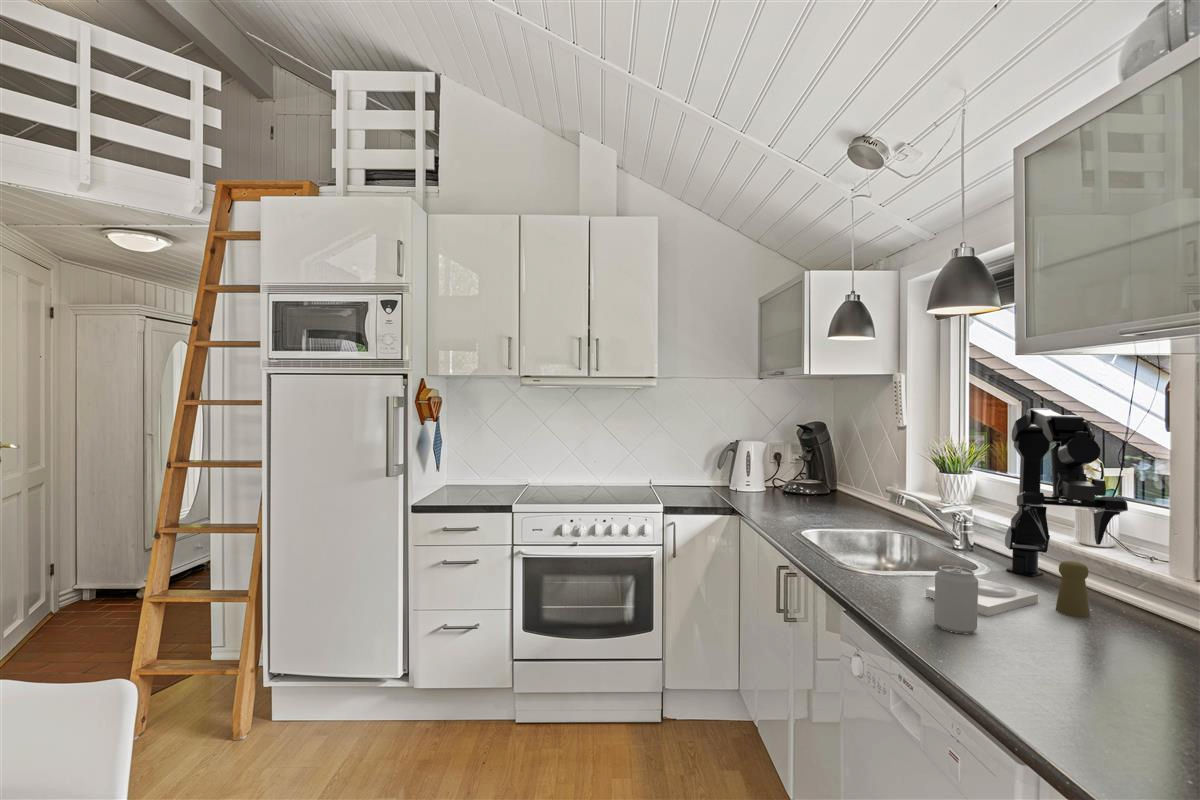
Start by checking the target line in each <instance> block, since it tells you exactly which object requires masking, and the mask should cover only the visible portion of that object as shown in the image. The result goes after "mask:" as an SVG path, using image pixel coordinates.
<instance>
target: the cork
mask: <svg viewBox="0 0 1200 800" xmlns="http://www.w3.org/2000/svg"><path fill="white" fill-rule="evenodd" d="M1058 573H1059V574H1060V576H1061V578H1060V579H1061V580H1060V583H1059V587H1058V593H1057V594H1058V595H1057V599H1056V605H1055V611H1056V612H1057V611H1058V612H1057V613H1059V612H1060V614H1061V613H1062V614H1061V615H1064V614H1065V616H1068V615H1069V617H1073V618H1074V617H1075V618H1082V619H1083V618H1090V617H1091V614H1090V613H1091V612H1090V606H1089V599H1088V591H1087V584H1086V583H1087V582H1086V579H1087V578H1088V576H1089V567H1088V566H1087V565H1086V564H1084V563H1082V562H1078V561H1074V560H1064V561H1061V562H1060V564H1059V565H1058Z"/></svg>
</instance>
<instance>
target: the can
mask: <svg viewBox="0 0 1200 800" xmlns="http://www.w3.org/2000/svg"><path fill="white" fill-rule="evenodd" d="M938 569H939V570H938V571H937V572H936V573H935V575H934V587H935V600H934V599H933V601H934V605H933V606H934V607H933V609H934V610H933V621H934V623H935V624H936V625H937V626H938V627H939V626H940V627H941V628H943V629H946V630H949V631H952V632H957V633H970V634H972V633H973V632H974V631H976V630H978V613H977V611H978V579H977V578H978V577H976V575H975V574H976V573H975V571H974V570H972V569H970V568H967V567H964V566H957V565H941V566H939V567H938ZM940 627H939V628H940ZM941 628H940V629H941ZM943 629H942V630H943ZM952 632H951V633H952ZM971 632H972V633H971ZM957 633H956V634H957Z"/></svg>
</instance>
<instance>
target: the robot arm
mask: <svg viewBox="0 0 1200 800" xmlns="http://www.w3.org/2000/svg"><path fill="white" fill-rule="evenodd" d="M1011 429H1012V430H1011V440H1012V442H1013V447H1014V449H1015V451H1016V452H1017V453H1018V455H1019V456H1020V459H1019V461H1020V462H1019V464H1020V467H1019V489H1018V490H1019V491H1018V495H1017V496H1016V506H1017V507H1018V511H1017V512H1016V513H1015V514H1014V516H1013V517H1012V518H1011V519H1010V526H1008V528H1007V531H1006V533H1005V537H1004V546H1005V547H1006V548H1007V549H1008V550H1012V556H1011V558H1012V562H1011V564H1012V565H1011V567H1007V568H1006V569H1005V571H1007V572H1011V573H1015V574H1021V575H1024V576H1027V577H1036V576H1040V575H1044V574H1045V572H1044V571H1041V570H1039V552H1040V553H1045V554H1046V553H1047V552H1048V548H1049V543H1050V542H1049V541H1050V539H1051V535H1050V534H1049V527H1048V519H1047V509H1048V508H1047V506H1061V507H1074V508H1076V507H1077V508H1088V509H1091V508H1092V509H1095V510H1096V511H1097V512H1094V513H1093V527H1094V540H1095V544H1096V546H1097V545H1098V546H1100V545H1101V543H1102V541H1103V539H1104V538H1103V537H1104V535H1105V532H1106V530H1107V527H1108V525H1109V523H1110V522H1111V520H1112V519H1113V517H1114V516H1115V517H1116V516H1118V515H1121V513H1123V512H1128V510H1129V508H1128V501H1127V500H1126V499H1125V498H1124V497H1119V496H1107V495H1106V494H1107V485H1106V480H1105V479H1099V478H1098V479H1097V478H1091V481H1088V479H1087V478H1088V477H1087V474H1086V473H1085V466H1086V465H1089V464H1090V463H1093V462H1095V461H1096V460H1098V459H1099V457H1100V455H1101V447H1100V446H1099V443H1097V442H1096V441H1095V437H1096V435H1095V433H1094V431H1093V430H1092V428H1091V427H1090V425H1089V424H1088V421H1087V420H1085V417H1083V416H1082V415H1070V414H1069V415H1068V414H1067V415H1063V414H1060V413H1058V412H1056V411H1054V410H1053V409H1050V408H1045V407H1044V408H1043V407H1039V408H1037V407H1036V408H1035V407H1032V408H1028V409H1027V410H1026V413H1025V414H1024V415H1023V416H1022V417H1020V418H1018V419H1016V420H1015V422H1014V424H1013V428H1011ZM1053 442H1055V444H1054V445H1053V446H1052V447H1051V443H1053ZM1050 447H1051V448H1050ZM1049 451H1050V461H1051V475H1050V480H1051V481H1052V494H1051V496H1045V494H1044V492H1041V478H1042V477H1041V476H1042V460H1043V458H1044V457H1045V455H1046V454H1048V452H1049ZM1096 496H1101V497H1096ZM1044 505H1046V506H1044ZM1043 573H1044V574H1043Z"/></svg>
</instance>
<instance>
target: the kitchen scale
mask: <svg viewBox="0 0 1200 800" xmlns="http://www.w3.org/2000/svg"><path fill="white" fill-rule="evenodd" d="M976 578H977V579H978V611H977V614H979V613H980V615H983V616H985V617H986V616H987V617H991V616H995V615H997V614H1002V613H1004V612H1005V613H1006V612H1009V611H1012V610H1017V609H1020V608H1023V607H1027V606H1032V605H1033V604H1034V605H1035V604H1038V603H1039V593H1036V592H1032V591H1029V590H1025V589H1022V588H1021V589H1020V588H1017V587H1013V586H1009V585H1007V584H1002V583H999V582H995V581H990V580H988V579H987V580H986V579H983V578H979V577H976ZM926 596H928V597H930V598H929V599H931V598H934V599H935V586H931V587H927V588H925V597H926ZM934 599H933V600H934Z"/></svg>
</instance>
